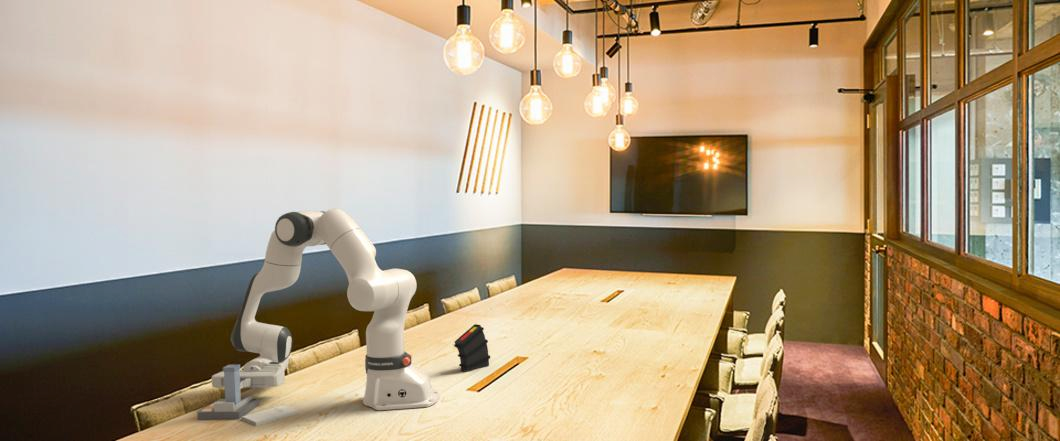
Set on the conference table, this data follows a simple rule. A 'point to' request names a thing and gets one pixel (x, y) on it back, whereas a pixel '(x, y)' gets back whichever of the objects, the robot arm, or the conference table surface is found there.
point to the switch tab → (232, 383)
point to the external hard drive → (269, 415)
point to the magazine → (473, 349)
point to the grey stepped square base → (228, 409)
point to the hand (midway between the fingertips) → (235, 386)
